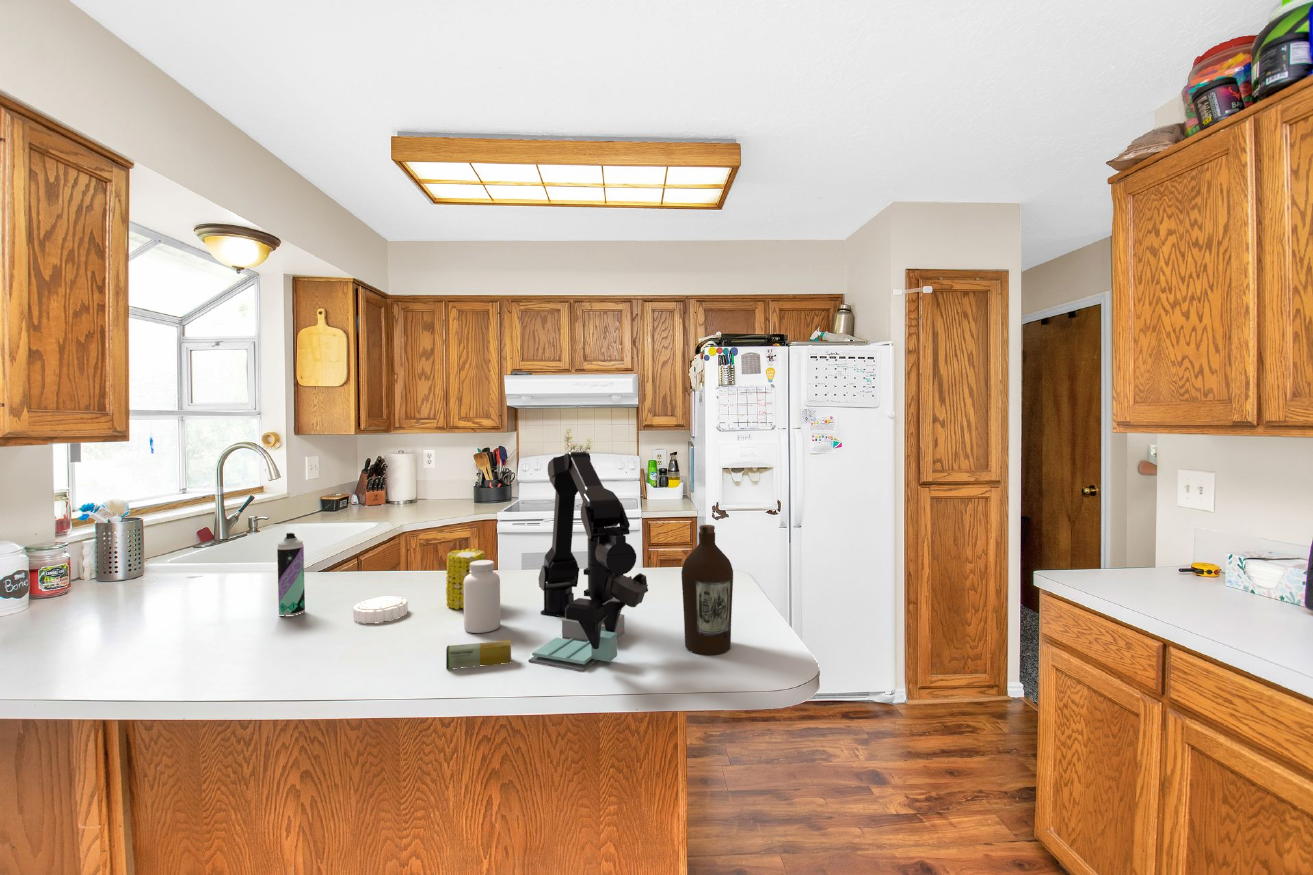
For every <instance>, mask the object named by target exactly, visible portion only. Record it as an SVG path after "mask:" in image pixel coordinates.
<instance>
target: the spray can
mask: <svg viewBox="0 0 1313 875" xmlns="http://www.w3.org/2000/svg"><path fill="white" fill-rule="evenodd" d="M285 534H286V536H285V537H284V538H283V540H282V541H280V542H278V543H277V548H276V549H277V552H276V553H277V554H276V555H277V589H278V590H277V591H278V592H277V594H278V595H277V596H278V616H279V615H284V616H286V615H296V614H299V613H302V612H304V611H305V610H306V605H305V604H306V603H305V602H306V600H305V598H306V597H305V596H306V595H305V592H306V591H305V555H304V554H305V553H304V551H305V550H304V547H305V546H304V541H302V540H300V539H298V537H297V536H296V535H295V533H294V532H286V533H285ZM305 612H306V611H305ZM305 612H304V613H305Z"/></svg>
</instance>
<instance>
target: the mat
mask: <svg viewBox="0 0 1313 875" xmlns="http://www.w3.org/2000/svg"><path fill="white" fill-rule="evenodd" d="M596 661H597V660H596V659H591V660H589V661H588V662H587V663H585V664H579V663H573V662H567V661H561V660H555V659H549V658H543V657H537V656H532V657H531V658H528V662H529V663H533V664H539V665H543V666H545V665H546V666H550V667H555V668H561V669H568V670H573V671H578V672H584V671H585V670H586V669H587V668H589V667H591V666H592V665H593V664H594V663H595V662H596ZM593 662H594V663H593Z"/></svg>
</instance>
